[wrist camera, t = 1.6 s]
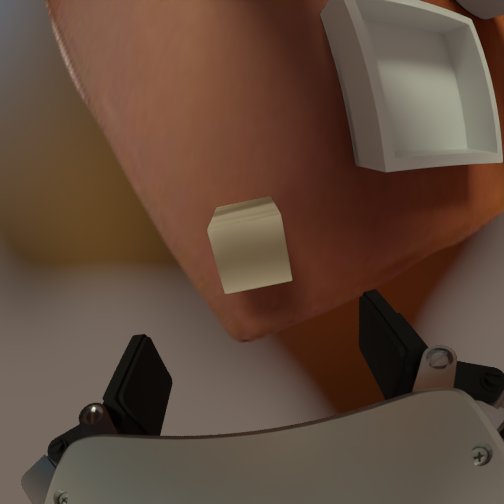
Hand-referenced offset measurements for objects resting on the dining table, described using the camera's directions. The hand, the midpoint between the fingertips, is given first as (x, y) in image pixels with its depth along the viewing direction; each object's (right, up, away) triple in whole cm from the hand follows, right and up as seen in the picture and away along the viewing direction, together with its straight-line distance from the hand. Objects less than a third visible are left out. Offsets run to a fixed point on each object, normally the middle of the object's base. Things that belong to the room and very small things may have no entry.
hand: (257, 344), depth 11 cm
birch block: (-1, +6, +14) cm, 16 cm away
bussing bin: (+16, +21, +9) cm, 28 cm away
